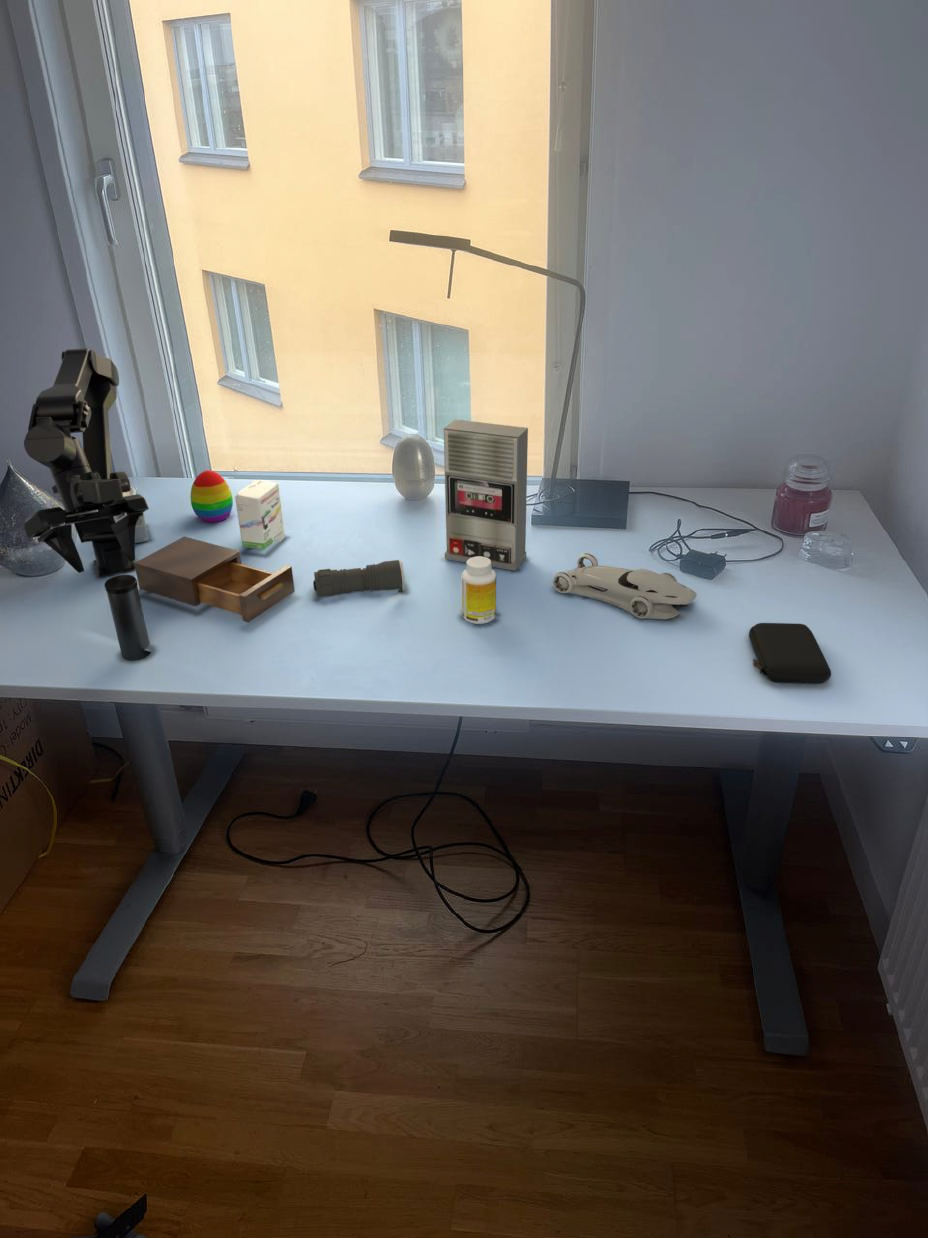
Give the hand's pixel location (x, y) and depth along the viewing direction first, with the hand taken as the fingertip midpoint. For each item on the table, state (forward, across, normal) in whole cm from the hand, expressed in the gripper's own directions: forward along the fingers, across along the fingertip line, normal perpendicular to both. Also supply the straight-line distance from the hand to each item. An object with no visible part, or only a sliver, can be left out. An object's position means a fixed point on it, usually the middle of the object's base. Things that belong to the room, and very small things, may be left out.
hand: (107, 566), depth 147 cm
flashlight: (+18, +32, -18) cm, 41 cm away
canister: (+14, -1, -1) cm, 15 cm away
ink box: (+2, +37, +5) cm, 37 cm away
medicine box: (-9, +26, +27) cm, 38 cm away
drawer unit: (+7, +17, +5) cm, 19 cm away
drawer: (+12, +18, -6) cm, 23 cm away
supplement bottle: (+28, +37, -37) cm, 60 cm away
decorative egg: (-8, +40, +20) cm, 46 cm away
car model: (+34, +57, -53) cm, 85 cm away
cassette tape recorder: (+20, +55, -30) cm, 65 cm away
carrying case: (+50, +52, -77) cm, 106 cm away
